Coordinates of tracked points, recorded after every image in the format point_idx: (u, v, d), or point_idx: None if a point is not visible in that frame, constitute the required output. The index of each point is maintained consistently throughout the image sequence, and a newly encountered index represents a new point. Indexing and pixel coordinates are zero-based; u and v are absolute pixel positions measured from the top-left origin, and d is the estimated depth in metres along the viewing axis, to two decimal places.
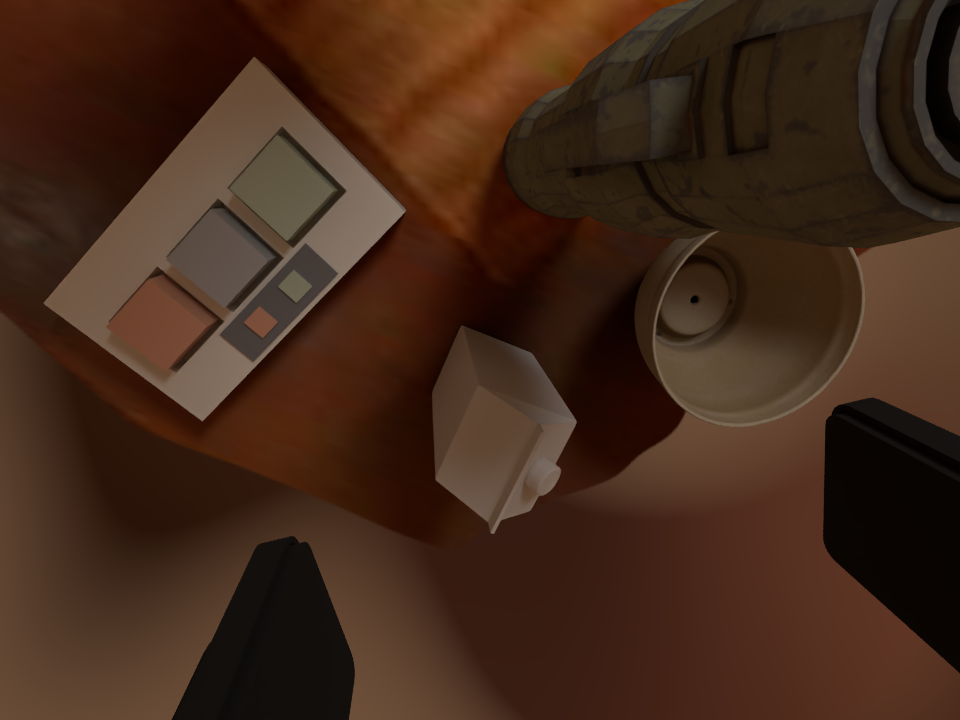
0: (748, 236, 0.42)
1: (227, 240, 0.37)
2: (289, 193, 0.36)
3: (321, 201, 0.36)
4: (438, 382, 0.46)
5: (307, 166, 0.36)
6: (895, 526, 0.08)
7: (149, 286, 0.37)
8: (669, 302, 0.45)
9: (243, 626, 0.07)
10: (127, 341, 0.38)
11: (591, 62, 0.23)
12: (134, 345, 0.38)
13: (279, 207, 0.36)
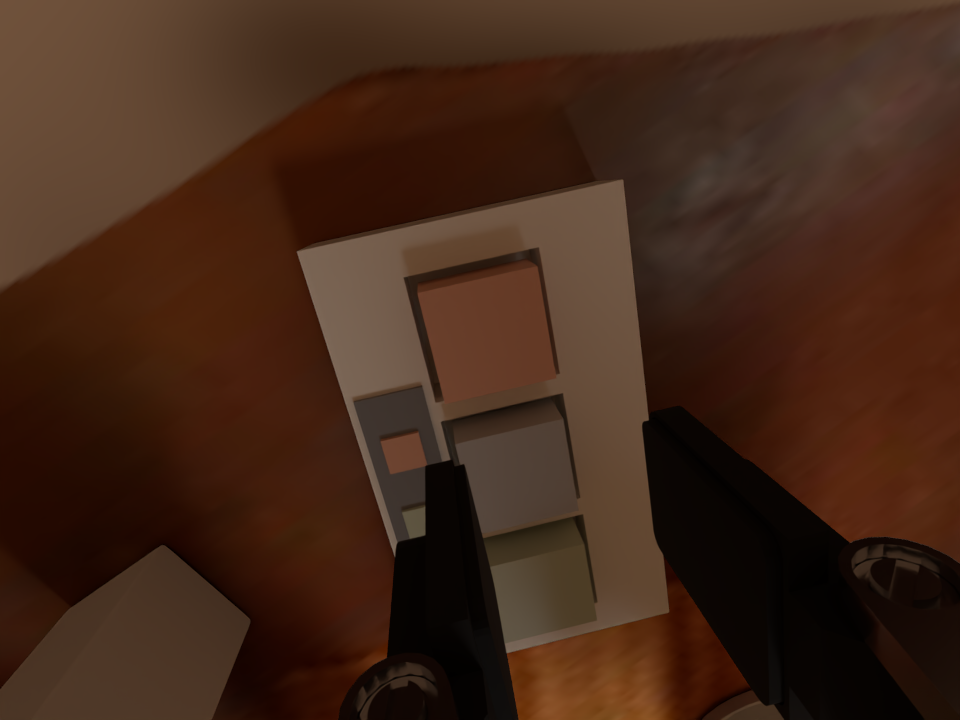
0: None
1: (532, 505, 0.24)
2: (534, 599, 0.26)
3: (502, 626, 0.26)
4: (175, 577, 0.28)
5: (547, 631, 0.27)
6: (681, 519, 0.09)
7: (546, 372, 0.22)
8: None
9: (447, 517, 0.08)
10: (497, 278, 0.21)
11: None
12: (485, 283, 0.21)
13: (527, 581, 0.26)
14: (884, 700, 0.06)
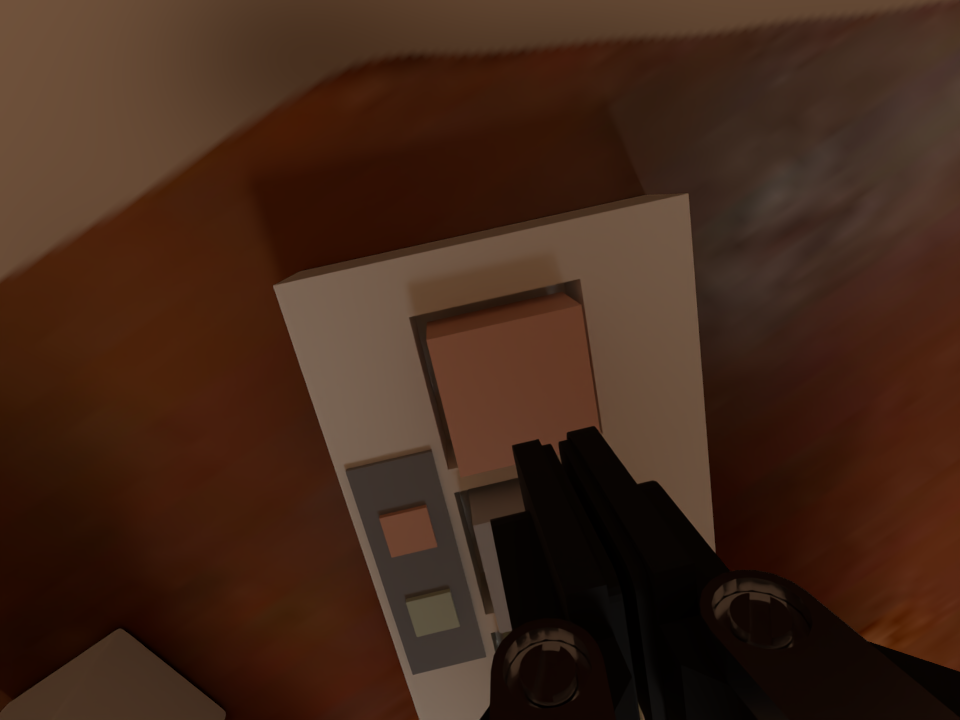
0: None
1: None
2: None
3: None
4: (133, 670, 0.23)
5: None
6: None
7: None
8: None
9: (552, 492, 0.08)
10: (529, 320, 0.16)
11: None
12: (513, 326, 0.16)
13: None
14: None
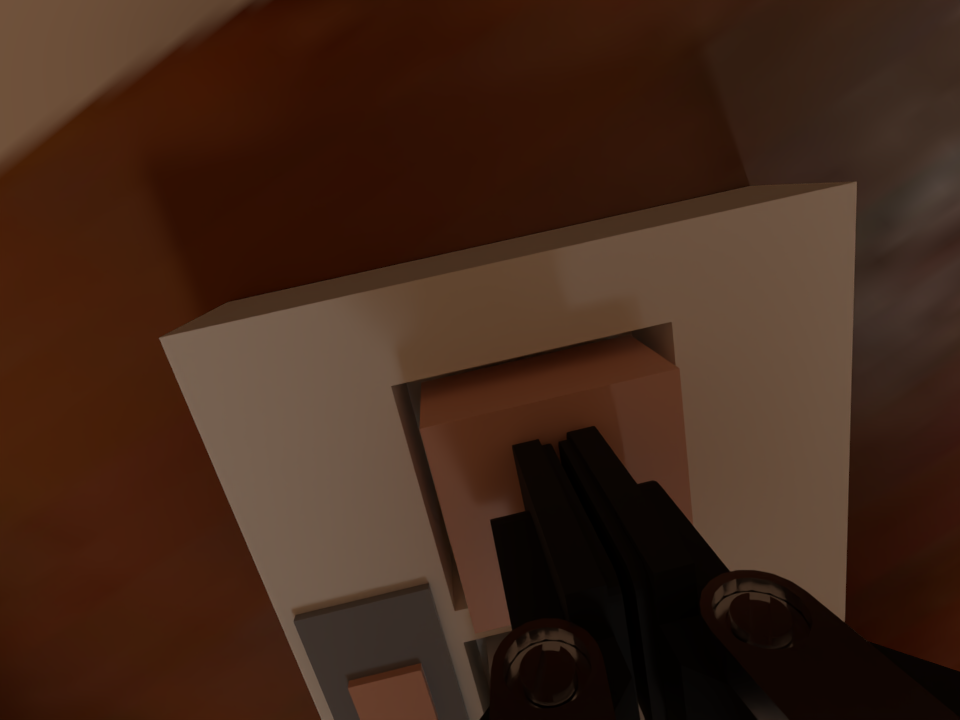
0: None
1: None
2: None
3: None
4: None
5: None
6: None
7: None
8: None
9: (552, 492, 0.08)
10: (592, 394, 0.10)
11: None
12: (566, 405, 0.10)
13: None
14: None
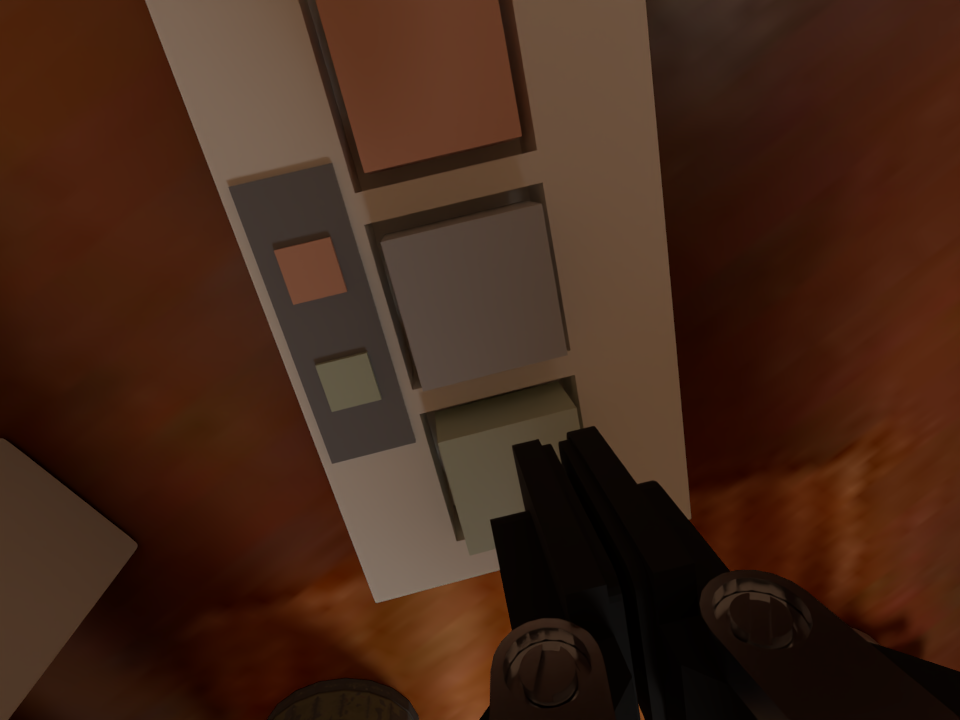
0: None
1: (501, 345, 0.17)
2: (507, 491, 0.19)
3: (465, 531, 0.19)
4: (16, 479, 0.20)
5: None
6: None
7: (508, 125, 0.16)
8: None
9: (552, 492, 0.08)
10: None
11: None
12: None
13: (497, 464, 0.18)
14: None
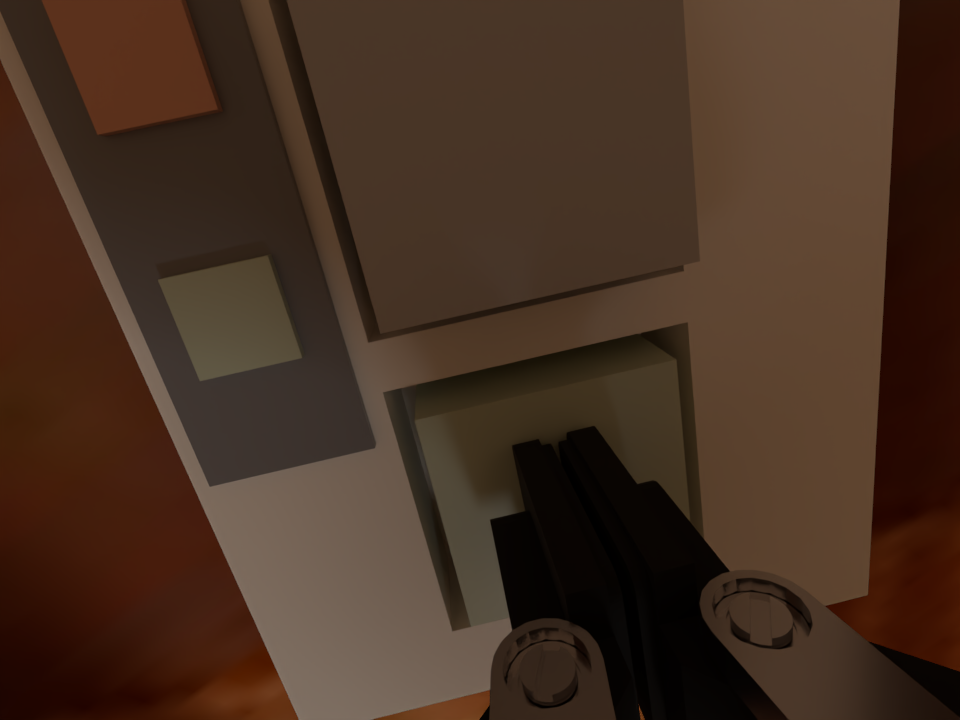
0: None
1: (557, 231, 0.07)
2: None
3: (464, 584, 0.11)
4: None
5: None
6: None
7: None
8: None
9: (552, 492, 0.08)
10: None
11: None
12: None
13: None
14: None
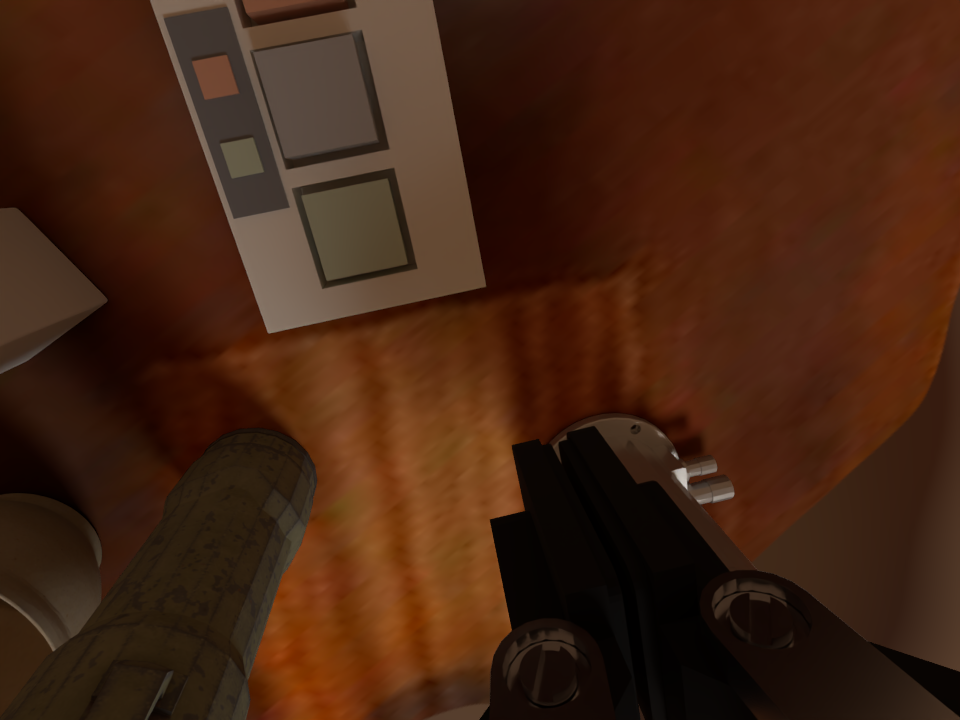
0: None
1: (333, 129, 0.27)
2: (348, 235, 0.30)
3: (322, 262, 0.31)
4: (25, 231, 0.30)
5: (363, 272, 0.31)
6: None
7: None
8: None
9: (552, 492, 0.08)
10: None
11: (234, 695, 0.22)
12: None
13: (340, 214, 0.30)
14: None
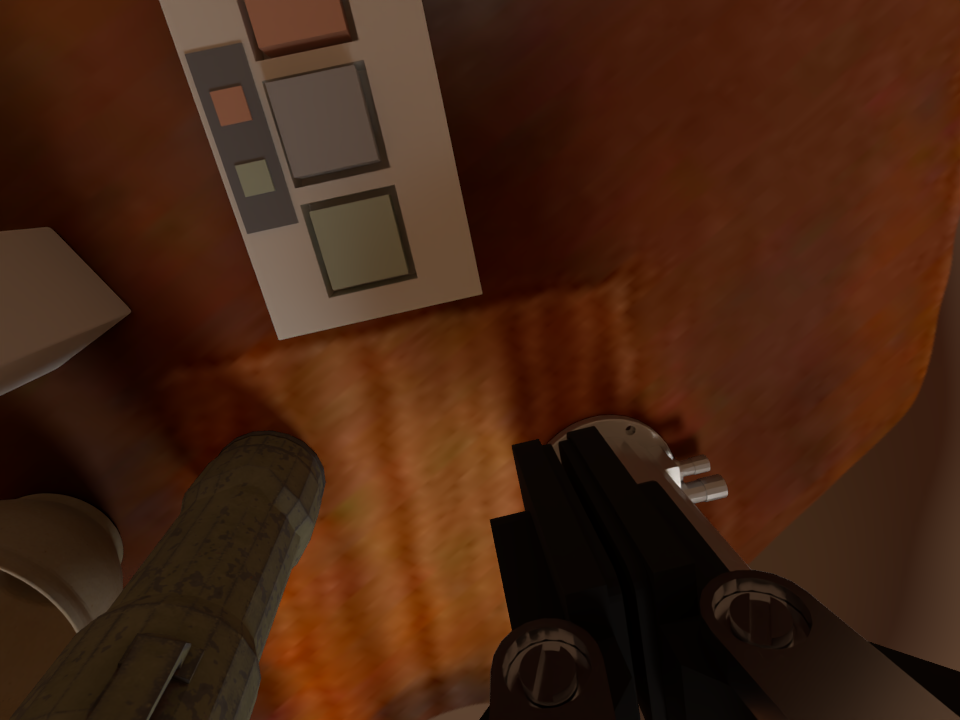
0: None
1: (338, 150, 0.30)
2: (352, 247, 0.32)
3: (329, 272, 0.33)
4: (58, 249, 0.33)
5: (367, 281, 0.33)
6: None
7: (338, 23, 0.29)
8: None
9: (552, 492, 0.08)
10: None
11: (246, 671, 0.23)
12: None
13: (344, 228, 0.32)
14: None
